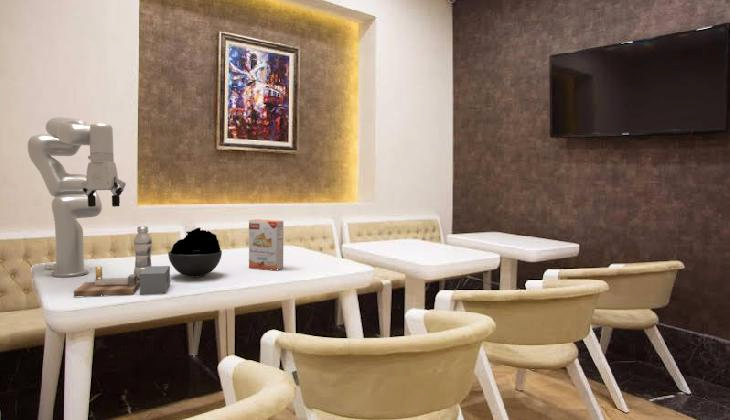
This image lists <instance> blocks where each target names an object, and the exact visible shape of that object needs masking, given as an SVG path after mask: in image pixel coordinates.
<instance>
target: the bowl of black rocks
mask: <svg viewBox="0 0 730 420" xmlns="http://www.w3.org/2000/svg"><path fill="white" fill-rule="evenodd" d="M185 233H186V235H185V237H184V238H181V239H178V240H176V241H175V243H173V245H172V248H171V249H170V250H169V251H168V253H167V255H168V259H169V262H170V264H171V266H172V267H173V269H174V270H176V271H177V272H178V273H179V274H181V275H182V276H186V277H189V278H201V277H203V276H206V275H208V274H210V273H211V272H213V270H215V269H216V267H217V266H218V265H219V263H220V261H221V259H222V254H223V250H221V247H220V246H221V245H220V243H219V240H218V237H217V236H218V235H217V234H216V233H213V232H212V231H209V230H206V229H205V230H203V229H202V228H201V227H196V228H195V229H193V230H192V229H191V231H189V230H188V231H186V232H185Z"/></svg>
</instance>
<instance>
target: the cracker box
mask: <svg viewBox="0 0 730 420" xmlns="http://www.w3.org/2000/svg"><path fill="white" fill-rule="evenodd" d="M248 268H249V269H255V268H259V270H265V269H272V270H271V271H274V270H277V269H280V270H282V269H281V268H283V269H284V220H273V219H257V218H256V219H250V220H248ZM277 271H278V270H277Z"/></svg>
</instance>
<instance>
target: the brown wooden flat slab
mask: <svg viewBox="0 0 730 420" xmlns="http://www.w3.org/2000/svg"><path fill="white" fill-rule="evenodd" d="M127 278H128V284H102V285H95V281H87V282H86V281H85V282H84V283H83V284H81V285H80V286H79V287H77V288H76V289H75V290H74V291H73V297H74V296H93V297H105V296H104V295H119V296H133V295H135V294H136V292H137V291H138V290H140V280H137V274H134V273H131V274H129V275H128V276H127ZM101 295H102V296H101Z"/></svg>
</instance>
